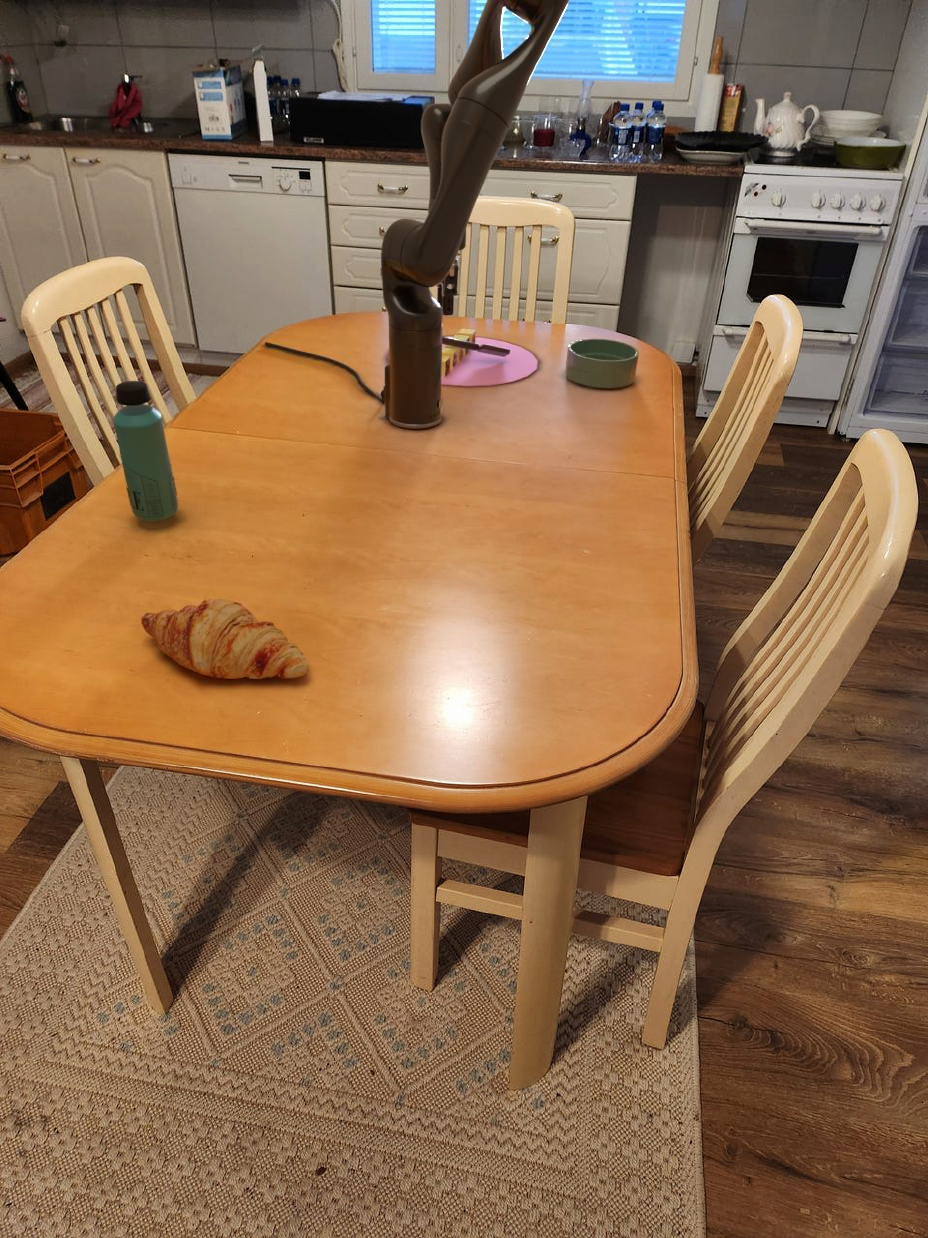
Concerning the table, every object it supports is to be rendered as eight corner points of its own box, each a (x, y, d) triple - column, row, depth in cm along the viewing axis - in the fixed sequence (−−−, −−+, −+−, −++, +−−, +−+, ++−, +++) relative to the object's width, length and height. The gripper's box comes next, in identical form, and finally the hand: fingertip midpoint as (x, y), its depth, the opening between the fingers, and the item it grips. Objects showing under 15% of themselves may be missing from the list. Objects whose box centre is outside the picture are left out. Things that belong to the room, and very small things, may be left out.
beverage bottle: (190, 514, 125) (168, 379, 114) (162, 535, 120) (137, 396, 109) (151, 506, 127) (126, 372, 115) (123, 526, 122) (93, 388, 110)
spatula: (511, 350, 182) (481, 391, 181) (505, 354, 186) (476, 393, 185) (447, 292, 177) (416, 334, 176) (442, 297, 181) (412, 337, 180)
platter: (365, 373, 176) (365, 357, 174) (416, 330, 201) (416, 315, 199) (519, 395, 169) (520, 378, 167) (551, 347, 195) (553, 331, 193)
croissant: (322, 688, 100) (335, 621, 98) (282, 705, 90) (295, 630, 89) (163, 644, 104) (173, 580, 103) (108, 655, 95) (119, 584, 94)
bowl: (552, 379, 177) (555, 350, 174) (585, 362, 187) (588, 334, 184) (615, 396, 171) (619, 366, 167) (645, 377, 181) (650, 348, 177)
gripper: (422, 214, 174) (422, 301, 184) (433, 229, 162) (432, 320, 172) (459, 214, 175) (456, 300, 185) (473, 229, 164) (469, 320, 173)
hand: (445, 309), depth 178 cm, fingers open, 5 cm apart
